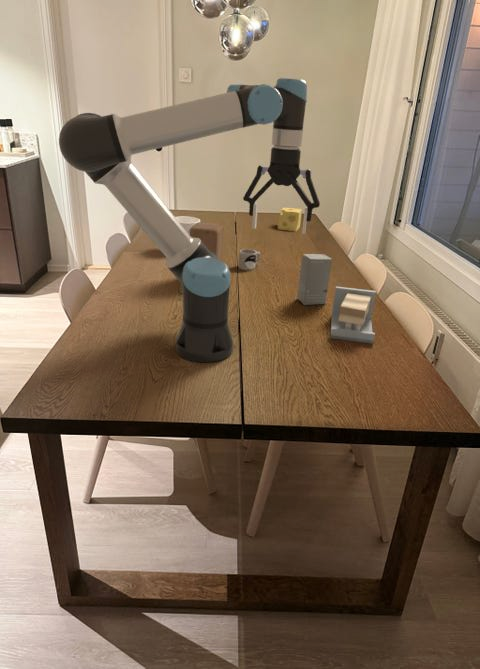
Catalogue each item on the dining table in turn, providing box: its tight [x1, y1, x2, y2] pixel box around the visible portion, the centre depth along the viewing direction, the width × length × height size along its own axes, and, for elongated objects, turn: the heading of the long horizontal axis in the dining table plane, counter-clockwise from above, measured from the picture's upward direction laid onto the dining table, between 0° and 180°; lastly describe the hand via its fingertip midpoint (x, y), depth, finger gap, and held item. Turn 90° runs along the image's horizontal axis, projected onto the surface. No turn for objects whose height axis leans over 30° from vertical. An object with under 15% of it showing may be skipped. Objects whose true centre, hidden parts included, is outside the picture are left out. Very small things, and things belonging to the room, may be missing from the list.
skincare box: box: [296, 253, 333, 306], centre depth 162 cm, size 8×7×16 cm
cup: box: [175, 215, 201, 235], centre depth 206 cm, size 12×12×14 cm
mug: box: [238, 248, 261, 271], centre depth 193 cm, size 10×7×7 cm
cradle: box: [330, 285, 377, 345], centre depth 144 cm, size 16×12×10 cm
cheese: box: [277, 207, 303, 233], centre depth 254 cm, size 10×11×10 cm
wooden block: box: [190, 221, 224, 262], centre depth 173 cm, size 10×10×20 cm
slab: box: [338, 293, 371, 325], centre depth 144 cm, size 12×7×4 cm, turn 159°
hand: (278, 230), depth 133 cm, fingers open, 13 cm apart
